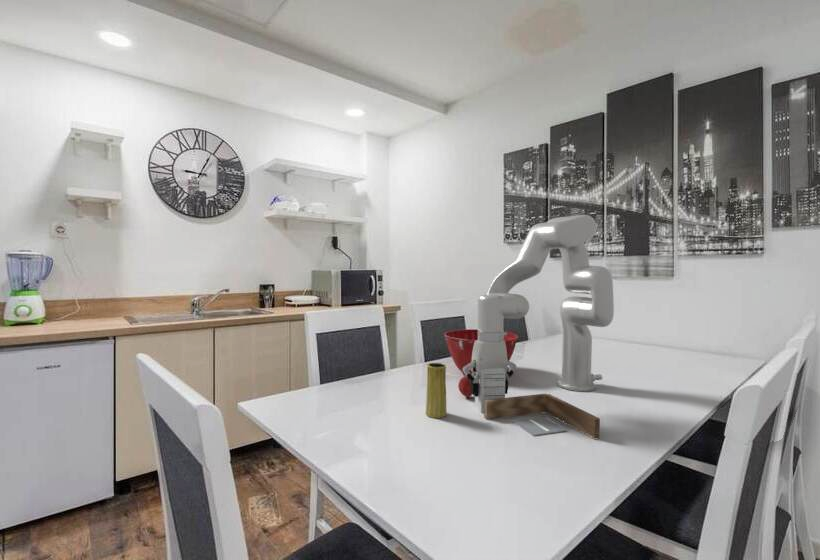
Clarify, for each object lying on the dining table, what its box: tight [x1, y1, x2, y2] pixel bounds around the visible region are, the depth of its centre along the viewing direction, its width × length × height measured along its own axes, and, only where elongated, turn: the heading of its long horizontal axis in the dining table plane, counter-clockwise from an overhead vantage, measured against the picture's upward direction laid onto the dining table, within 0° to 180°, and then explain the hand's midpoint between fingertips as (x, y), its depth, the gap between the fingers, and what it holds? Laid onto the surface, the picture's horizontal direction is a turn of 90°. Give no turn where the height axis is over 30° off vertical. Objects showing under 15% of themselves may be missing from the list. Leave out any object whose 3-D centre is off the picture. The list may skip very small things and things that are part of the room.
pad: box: [511, 415, 568, 437], centre depth 110 cm, size 10×10×1 cm
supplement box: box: [474, 368, 506, 414], centre depth 123 cm, size 7×7×13 cm
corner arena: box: [483, 393, 601, 439], centre depth 109 cm, size 21×21×5 cm
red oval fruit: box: [458, 375, 473, 399], centre depth 133 cm, size 6×6×8 cm
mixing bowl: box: [444, 328, 519, 375], centre depth 163 cm, size 28×28×16 cm
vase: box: [425, 362, 448, 419], centre depth 118 cm, size 6×6×14 cm
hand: (489, 393), depth 123 cm, fingers open, 9 cm apart
